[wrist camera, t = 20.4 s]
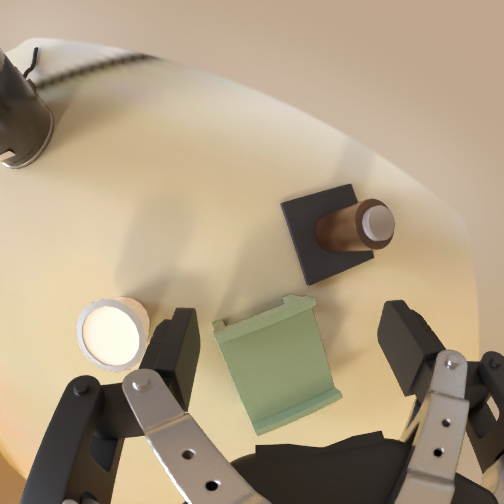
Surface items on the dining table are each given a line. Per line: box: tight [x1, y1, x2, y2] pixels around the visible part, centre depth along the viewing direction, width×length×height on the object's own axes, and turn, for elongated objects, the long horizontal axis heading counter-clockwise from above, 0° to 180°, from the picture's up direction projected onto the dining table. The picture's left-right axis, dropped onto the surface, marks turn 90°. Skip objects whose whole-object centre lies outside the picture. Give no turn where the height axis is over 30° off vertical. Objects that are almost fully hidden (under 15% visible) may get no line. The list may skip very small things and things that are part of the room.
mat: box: [281, 184, 374, 285], centre depth 34 cm, size 10×10×1 cm
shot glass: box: [77, 297, 150, 372], centre depth 26 cm, size 7×7×7 cm
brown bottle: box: [315, 199, 395, 253], centre depth 29 cm, size 5×5×10 cm
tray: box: [212, 294, 342, 436], centre depth 29 cm, size 12×10×7 cm
